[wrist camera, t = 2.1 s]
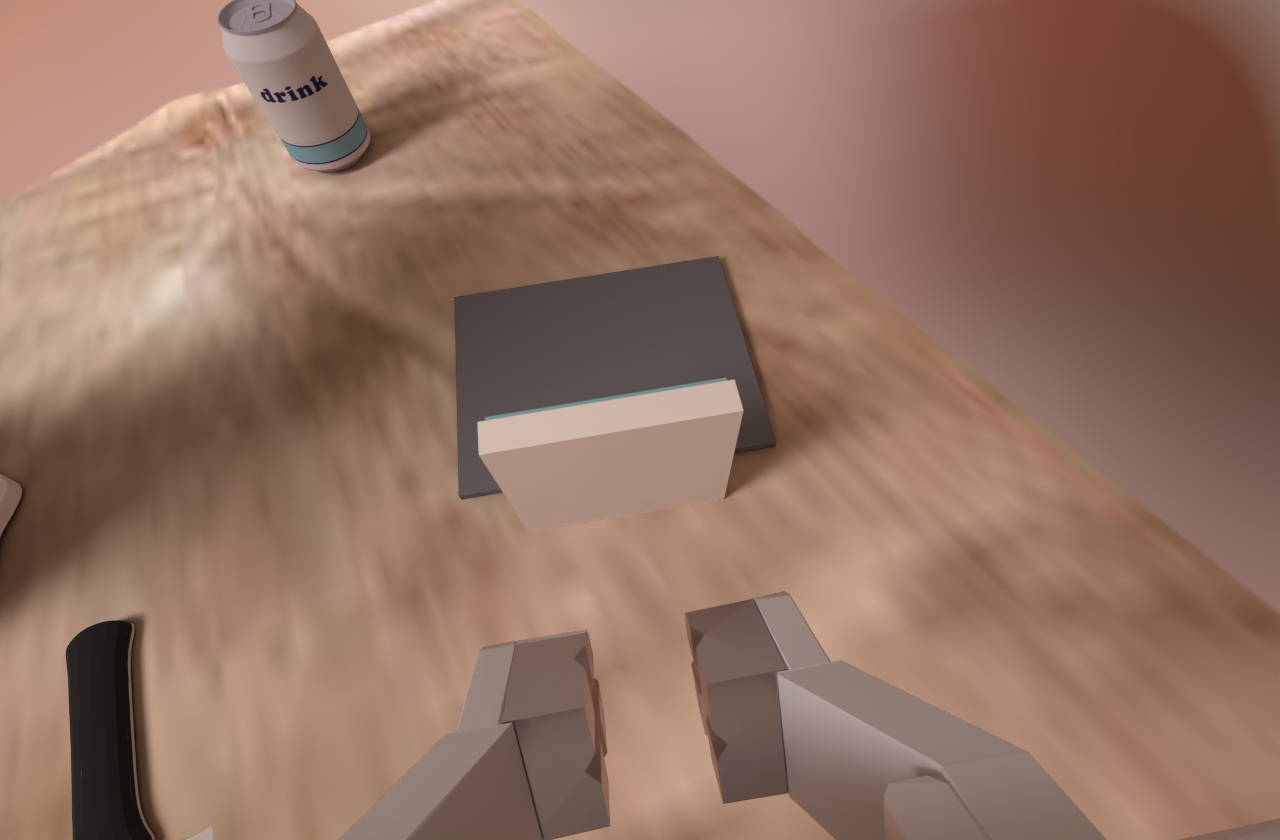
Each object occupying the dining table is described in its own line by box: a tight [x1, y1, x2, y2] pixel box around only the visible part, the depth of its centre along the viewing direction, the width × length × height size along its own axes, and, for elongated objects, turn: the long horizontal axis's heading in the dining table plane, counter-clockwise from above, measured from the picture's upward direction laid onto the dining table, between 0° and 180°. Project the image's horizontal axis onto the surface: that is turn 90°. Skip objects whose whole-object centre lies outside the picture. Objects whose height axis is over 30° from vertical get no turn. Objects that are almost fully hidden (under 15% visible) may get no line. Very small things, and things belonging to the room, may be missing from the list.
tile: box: [477, 378, 744, 533], centre depth 32 cm, size 2×12×11 cm, turn 100°
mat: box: [455, 256, 776, 499], centre depth 41 cm, size 16×20×1 cm
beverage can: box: [218, 0, 370, 172], centre depth 49 cm, size 7×7×12 cm
